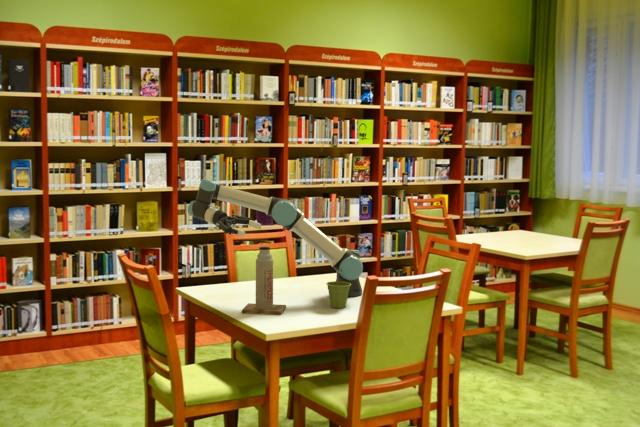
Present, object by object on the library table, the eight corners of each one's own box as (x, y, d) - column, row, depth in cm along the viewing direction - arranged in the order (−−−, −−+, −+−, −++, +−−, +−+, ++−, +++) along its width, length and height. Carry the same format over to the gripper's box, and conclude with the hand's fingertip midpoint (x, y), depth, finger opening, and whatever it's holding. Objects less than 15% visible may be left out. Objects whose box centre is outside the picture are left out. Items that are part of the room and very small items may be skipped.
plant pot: (342, 310, 349) (343, 287, 348) (321, 307, 355) (321, 284, 354) (355, 306, 359) (355, 283, 358) (334, 303, 365) (334, 280, 364)
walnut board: (286, 308, 353) (286, 304, 353) (281, 314, 339) (281, 311, 339) (248, 306, 355) (248, 303, 355) (241, 313, 341) (241, 309, 341)
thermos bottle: (275, 308, 345) (276, 247, 342) (259, 309, 341) (260, 248, 339) (268, 304, 352) (269, 245, 349) (252, 306, 348) (253, 246, 346)
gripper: (230, 217, 374) (266, 230, 365) (199, 230, 353) (236, 245, 344) (232, 203, 372) (268, 216, 363) (200, 216, 351) (238, 230, 342)
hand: (252, 230), depth 354 cm, fingers open, 13 cm apart
